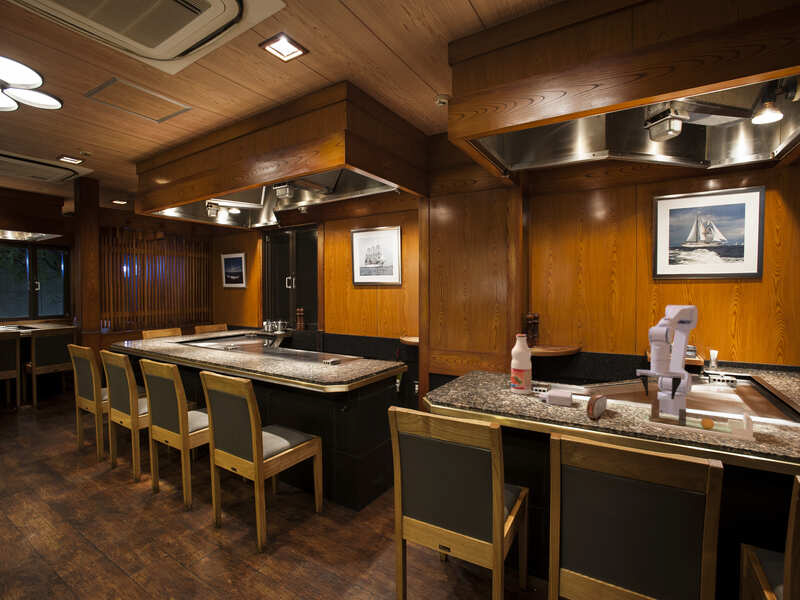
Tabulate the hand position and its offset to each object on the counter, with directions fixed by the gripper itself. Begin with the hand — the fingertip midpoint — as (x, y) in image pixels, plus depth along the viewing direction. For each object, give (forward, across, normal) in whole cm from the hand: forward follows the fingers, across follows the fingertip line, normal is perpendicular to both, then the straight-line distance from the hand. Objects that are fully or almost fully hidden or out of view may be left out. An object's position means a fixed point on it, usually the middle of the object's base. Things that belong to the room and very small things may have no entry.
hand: (659, 397), depth 144 cm
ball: (+7, +14, -1) cm, 15 cm away
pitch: (+10, +10, -1) cm, 15 cm away
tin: (+11, -20, 0) cm, 23 cm away
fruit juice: (+10, -55, +23) cm, 61 cm away
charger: (+11, -39, +13) cm, 42 cm away
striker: (+8, +2, -1) cm, 9 cm away
